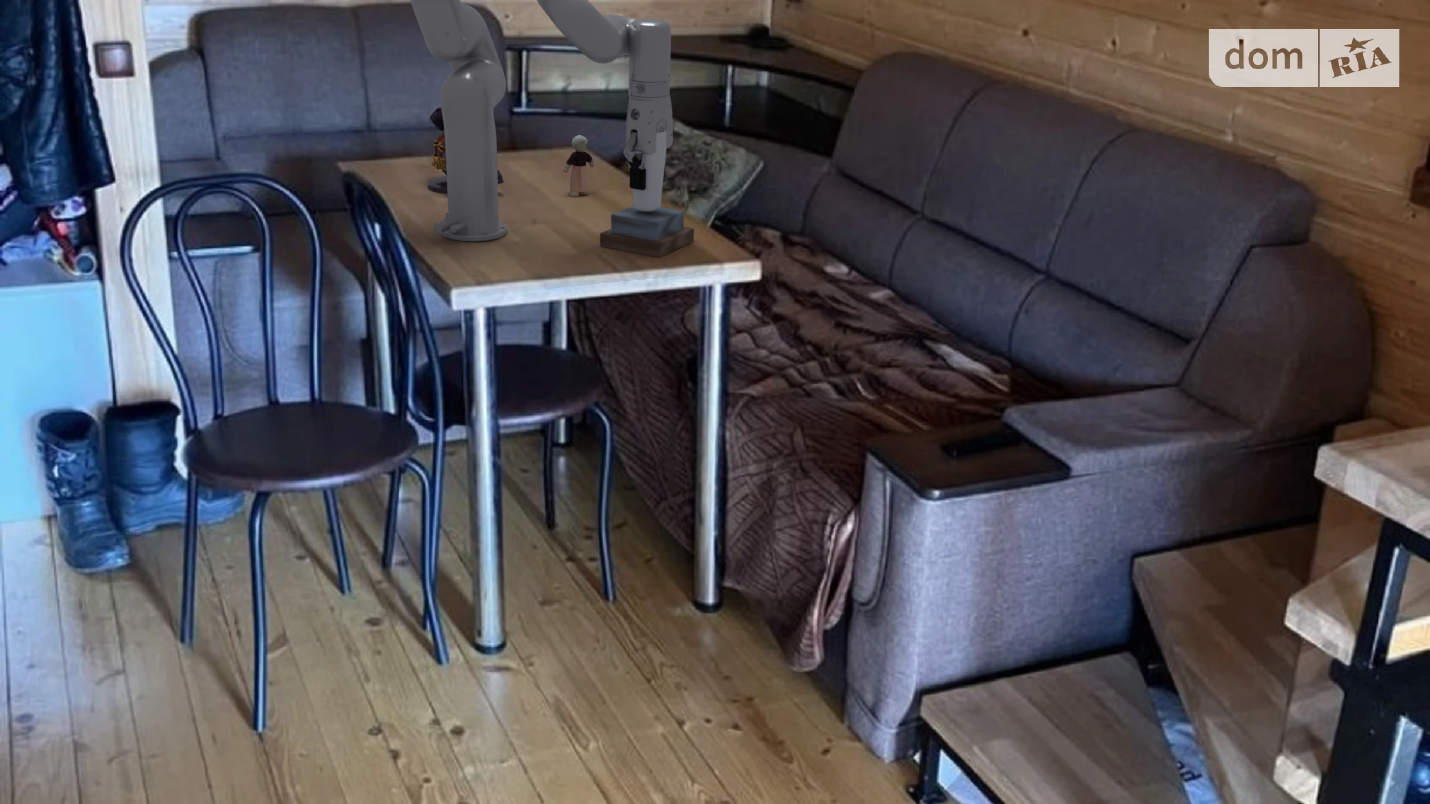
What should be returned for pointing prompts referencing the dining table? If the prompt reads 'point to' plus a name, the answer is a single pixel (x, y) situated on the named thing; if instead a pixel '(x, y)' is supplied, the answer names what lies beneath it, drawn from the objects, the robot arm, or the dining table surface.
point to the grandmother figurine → (578, 167)
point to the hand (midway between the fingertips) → (647, 184)
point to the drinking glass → (652, 177)
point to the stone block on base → (647, 231)
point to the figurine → (442, 156)
